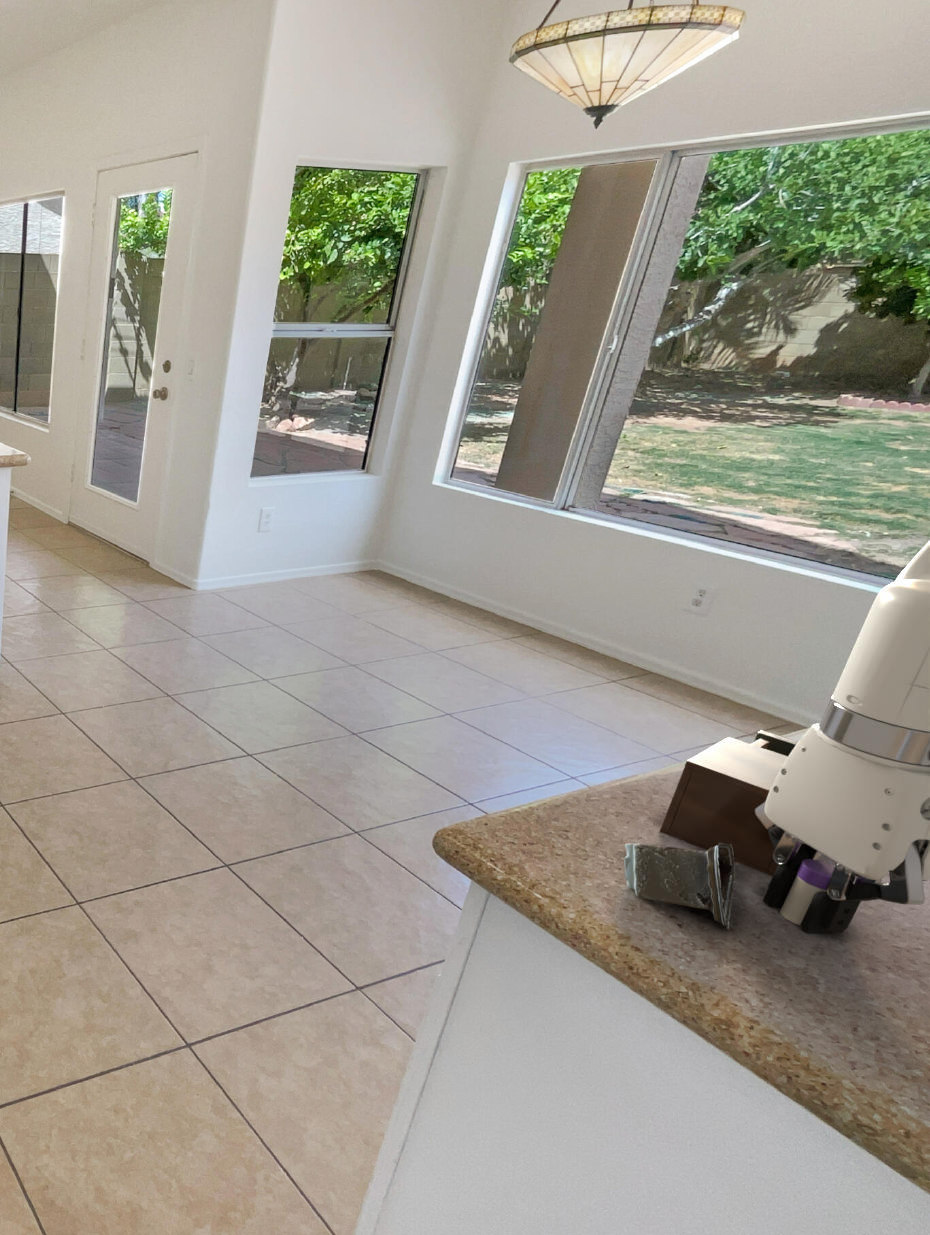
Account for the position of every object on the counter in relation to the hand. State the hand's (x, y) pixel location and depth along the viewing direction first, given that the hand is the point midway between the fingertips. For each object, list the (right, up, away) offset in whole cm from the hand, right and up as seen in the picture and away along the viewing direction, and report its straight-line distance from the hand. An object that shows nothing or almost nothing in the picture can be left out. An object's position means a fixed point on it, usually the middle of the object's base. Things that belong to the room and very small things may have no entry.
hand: (801, 916), depth 74 cm
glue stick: (0, 0, 0) cm, 0 cm away
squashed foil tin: (-7, +1, +4) cm, 9 cm away
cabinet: (+5, +4, +11) cm, 13 cm away
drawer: (+14, +6, +16) cm, 22 cm away
